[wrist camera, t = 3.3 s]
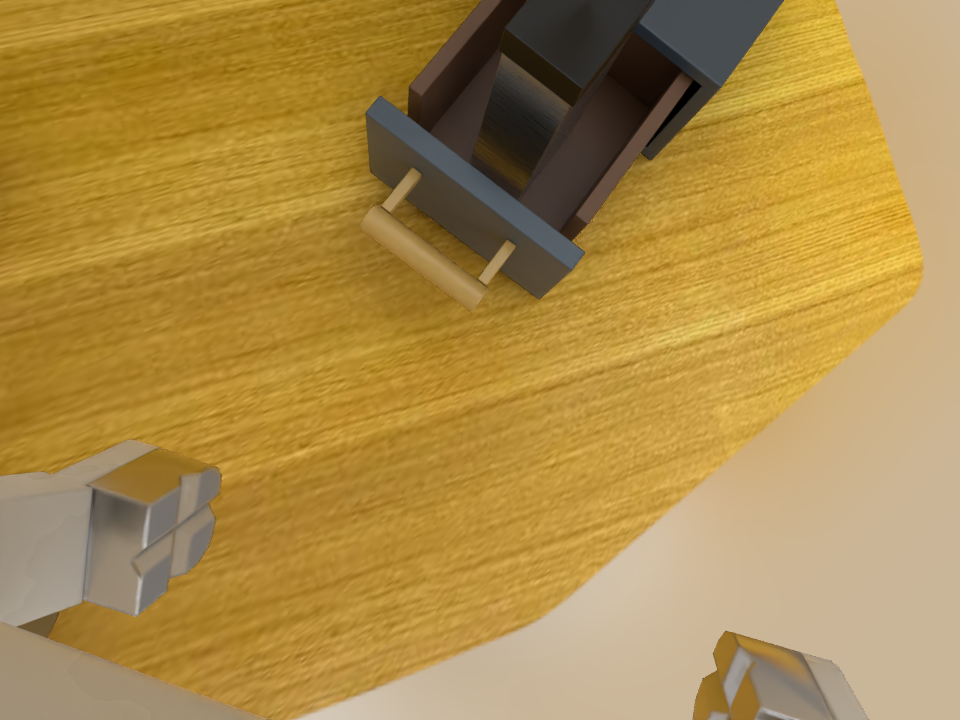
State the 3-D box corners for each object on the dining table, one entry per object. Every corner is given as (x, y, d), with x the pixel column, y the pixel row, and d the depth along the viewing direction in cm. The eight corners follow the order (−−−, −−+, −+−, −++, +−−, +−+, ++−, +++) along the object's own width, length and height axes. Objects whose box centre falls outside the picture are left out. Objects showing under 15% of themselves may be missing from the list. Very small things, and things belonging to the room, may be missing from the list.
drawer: (498, 355, 36) (523, 338, 29) (324, 225, 35) (309, 177, 28) (668, 122, 39) (726, 58, 32) (512, 0, 38) (538, -91, 32)
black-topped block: (465, 166, 36) (503, 27, 23) (526, 89, 37) (593, -82, 24) (517, 206, 36) (583, 89, 24) (577, 128, 37) (668, -22, 25)
